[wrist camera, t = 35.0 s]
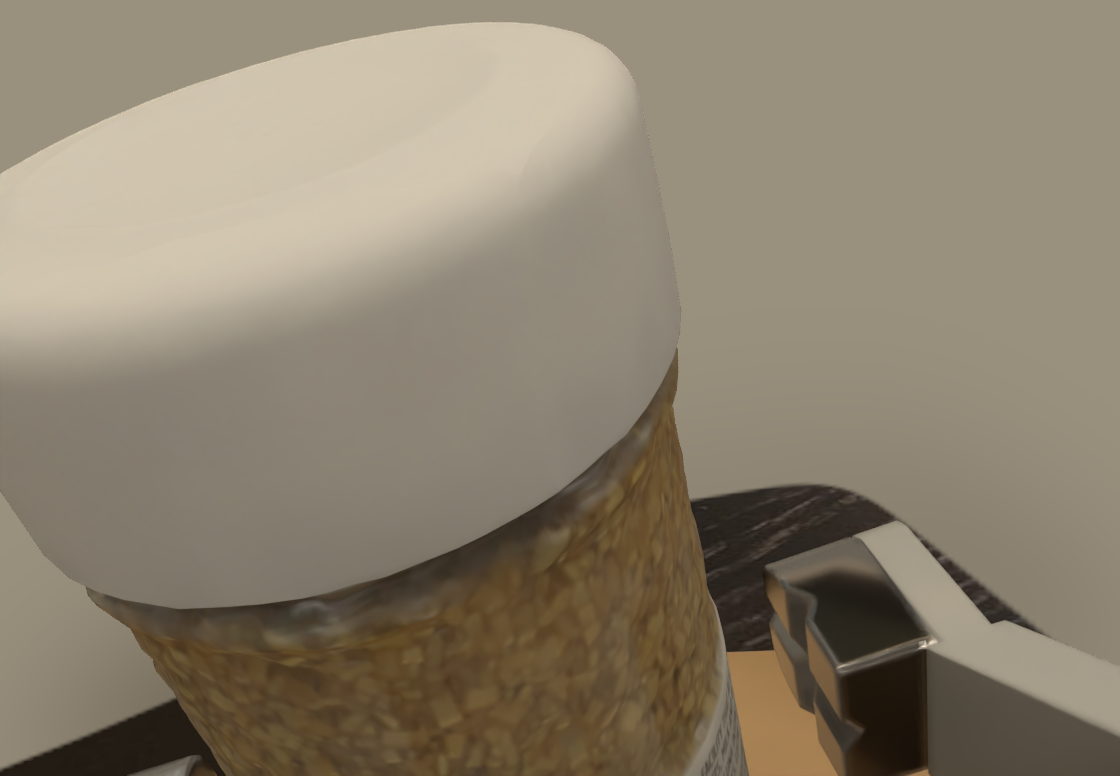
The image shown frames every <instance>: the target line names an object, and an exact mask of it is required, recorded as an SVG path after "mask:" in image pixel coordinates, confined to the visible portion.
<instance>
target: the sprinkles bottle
mask: <svg viewBox="0 0 1120 776" xmlns="http://www.w3.org/2000/svg"><path fill="white" fill-rule="evenodd" d="M680 321H681V307H680V301H679V294H678V287H677V281H676V274H675V268H674V262H673V255H672V248H671V244H670V238H669V233H668V229H667V224H666V218H665V213H664V208H663V203H662V198H661V193H660V188H659V184H658V179H657V175H656V170H655V165H654V161H653V156H652V152H651V147H650V143H649V138H648V134H647V129H646V125H645V120H644V115H643V111H642V107H641V102H640V97H639V93H638V89H637V86H636V85H635V82H634V80H633V78H632V76H631V74H630V72H629V70H628V69H627V68H626V67H625V66H624V64H623V63H622V62H621V61H620V60H619V58H618V57H616V55H614V54H613V53H612V52H611V51H610V50H609V49H608V48H606V47H605V46H604V45H602V44H600V43H598V42H596V41H594V40H592V39H590V38H588V37H586V36H584V35H582V34H580V33H576V32H572V31H569V30H565V29H559V28H555V27H550V26H545V25H539V24H527V23H513V22H477V23H463V24H450V25H441V26H431V27H425V28H418V29H411V30H405V31H399V32H392V33H387V34H381V35H375V36H370V37H365V38H359V39H354V40H349V41H345V42H341V43H336V44H332V45H327V46H323V47H319V48H315V49H310V50H306V51H302V52H298V53H294V54H291V55H287V56H284V57H280V58H277V59H273V60H270V61H266V62H263V63H259V64H256V65H253V66H249V67H246V68H243V69H240V70H237V71H234V72H230V73H227V74H224V75H221V76H218V77H215V78H212V79H209V80H206V81H202V82H199V83H196V84H193V85H190V86H188V87H185V88H182V89H180V90H177V91H174V92H171V93H169V94H166V95H164V96H161V97H158V98H156V99H153V100H151V101H148V102H145V103H143V104H141V105H138V106H136V107H134V108H132V109H129V110H127V111H124V112H122V113H120V114H118V115H115V116H113V117H111V118H108V119H106V120H103V121H101V122H99V123H97V124H95V125H93V126H90V127H88V128H86V129H84V130H81V131H79V132H77V133H75V134H73V135H71V136H69V137H67V138H65V139H63V140H61V141H59V142H57V143H55V144H53V145H51V146H49V147H47V148H45V149H43V150H41V151H39V152H38V153H36V154H34V155H33V156H31V157H29V158H27V159H25V160H24V161H22V162H20V163H18V164H17V165H15V166H13V167H11V168H10V169H8V170H6V171H4V172H2V173H1V174H0V491H1V493H2V494H3V496H4V497H5V499H6V500H7V502H8V503H9V504H10V506H11V507H12V509H13V510H14V512H15V513H16V515H17V516H18V518H19V519H20V520H21V522H22V524H23V525H24V527H25V528H26V529H27V531H28V532H29V534H30V535H31V537H32V538H33V540H34V541H35V543H36V544H37V546H38V547H39V549H40V550H41V551H42V553H43V554H44V556H46V557H47V558H48V559H49V560H50V561H51V562H52V563H53V564H54V565H56V567H58V568H59V569H60V570H61V571H62V572H63V573H64V574H65V575H66V576H68V577H69V578H70V579H72V580H74V581H76V582H78V583H81V584H82V585H84V586H86V589H87V593H88V596H89V597H90V598H91V599H92V601H93V602H94V603H95V604H96V605H97V606H98V607H100V608H101V609H102V610H104V611H106V612H107V613H108V614H110V615H111V616H113V617H114V618H115V619H117V620H119V621H120V622H121V623H123V624H125V625H126V626H127V627H129V628H130V629H131V631H132V632H133V634H134V636H135V638H136V640H137V641H138V643H139V645H140V647H141V649H142V650H143V651H144V652H146V653H147V654H148V655H149V656H150V657H151V658H152V659H153V663H154V667H155V669H156V671H157V672H158V674H159V675H160V676H161V677H162V679H163V680H164V681H165V682H166V684H167V685H168V686H169V687H170V688H171V689H172V690H173V691H174V694H175V696H176V698H177V700H178V702H179V704H180V706H181V708H182V709H183V710H184V711H185V713H186V714H187V716H188V718H189V720H190V721H191V723H192V724H193V726H194V727H195V728H196V730H197V731H198V733H199V734H200V736H201V737H202V739H203V740H204V741H205V742H206V744H207V745H208V746H209V747H210V749H211V751H212V753H213V755H214V757H215V758H216V760H217V762H218V764H219V765H220V767H221V768H222V770H223V771H224V773H225V774H226V776H749V771H748V766H747V761H746V756H745V751H744V746H743V740H742V735H741V729H740V723H739V718H738V712H737V707H736V702H735V696H734V691H733V685H732V680H731V675H730V669H729V664H728V658H727V653H726V647H725V642H724V636H723V632H722V628H721V624H720V620H719V616H718V612H717V608H716V605H715V604H714V602H713V600H712V598H711V596H710V594H709V592H708V588H707V582H706V574H705V567H704V559H703V552H702V548H701V543H700V539H699V535H698V530H697V526H696V522H695V519H694V516H693V514H692V511H691V505H690V500H689V496H688V490H687V482H686V476H685V473H684V465H683V455H682V451H681V447H680V443H679V439H678V434H677V429H676V424H675V418H674V410H673V407H672V404H673V401H674V397H675V394H676V391H677V380H678V349H677V343H678V338H679V334H680Z"/></svg>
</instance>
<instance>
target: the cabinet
mask: <svg viewBox="0 0 1120 776" xmlns="http://www.w3.org/2000/svg"><path fill="white" fill-rule="evenodd" d="M726 653H727V658H728V664H729V669H730V675H731V680H732V685H733V691H734V696H735V702H736V707H737V712H738V718H739V723H740V729H741V735H742V740H743V746H744V751H745V756H746V761H747V766H748V771H749V776H838V775H837V773H836V771H835V770H834V768H833V766H832V764H831V762H830V761H829V759H828V757H827V755H826V754H825V752H824V750H823V748H822V747H821V745H820V743H819V741H818V733H817V725H816V717H815V715H814V714H812V713H810V712H808V711H806V710H804V709H802V708H800V707H799V705H798V703H797V701H796V700H795V698H794V696H793V694H792V692H791V690H790V688H789V686H788V684H787V682H786V680H785V677H784V675H783V673H782V671H781V668H780V665H779V662H778V659H777V655H776V652H775V651H749V652H726ZM908 776H931V775H930V774H928V769H927V770H924V771H921V772H917V773H914V774H911V775H908Z"/></svg>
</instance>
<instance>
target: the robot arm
mask: <svg viewBox="0 0 1120 776" xmlns="http://www.w3.org/2000/svg"><path fill="white" fill-rule="evenodd" d="M763 581H764V588H765V594H766V595H767V597H768V599H769V600H770V602H771V604H772V606H773V607H774V609H775V611H776V612H775V614H774V615H773V617H772V619H771V620H770V622H769V624H770V630H771V635H772V641H773V646H774V649H775V652H776V655H777V659H778V662H779V665H780V668H781V671H782V673H783V675H784V677H785V680H786V682H787V684H788V686H789V688H790V690H791V692H792V694H793V696H794V698H795V700H796V701H797V703H798V705H799V707H800V708H802V709H804V710H806V711H808V712H810V713H812V714H814V715H815V717H816V725H817V733H818V741H819V743H820V745H821V747H822V748H823V750H824V752H825V754H826V755H827V757H828V759H829V761H830V762H831V764H832V766H833V768H834V770H835V771H836V773H837V775H838V776H908V775H911V774H914V773H917V772H921V771H924V770H927V769H928V774H930V775H931V776H1120V666H1119V665H1117V664H1114V663H1112V662H1109V661H1106V660H1104V659H1102V658H1099V657H1096V656H1094V655H1091V654H1089V653H1086V652H1084V651H1081V650H1079V649H1076V648H1074V647H1071V646H1069V645H1066V644H1064V643H1061V642H1059V641H1056V640H1054V639H1051V638H1049V637H1046V636H1044V635H1041V634H1039V633H1036V632H1034V631H1031V630H1029V629H1026V628H1024V627H1021V626H1019V625H1016V624H1014V623H1011V622H1009V621H1006V620H1004V621H1001V622H997V623H994V624H991V623H990V622H989V621H988V620H987V619H986V617H985V616H984V615H983V614H982V613H981V612H980V610H979V609H978V608H977V607H976V606H975V605H974V603H973V602H972V601H971V600H970V599H969V598H968V596H967V595H966V594H965V593H964V592H963V591H962V590H961V588H960V587H959V586H958V585H957V584H956V583H955V581H954V580H953V579H952V578H951V577H950V576H949V574H948V573H947V572H946V571H945V570H944V569H943V567H942V566H941V565H940V564H939V563H938V562H937V560H936V559H935V558H934V557H933V556H932V555H931V553H930V552H929V551H928V550H927V549H926V548H925V546H924V545H923V544H922V543H921V542H920V541H919V539H918V538H917V537H916V536H915V535H914V534H913V532H912V531H911V530H910V529H909V528H908V527H907V525H905V524H903V523H901V522H899V521H894V522H892V523H889V524H886V525H883V526H880V527H877V528H874V529H871V530H868V531H865V532H862V533H859V534H856V535H853V537H852V538H851V537H847V538H844V539H841V540H838V541H835V542H832V543H829V544H827V545H824V546H821V547H818V548H815V549H812V550H809V551H806V552H803V553H800V554H797V555H794V556H791V557H788V558H786V559H783V560H780V561H777V562H774V563H771V564H768V565H765V566H764V571H763ZM126 776H217V775H216V773H215V772H214V770H213V769H212V768H211V766H210V765H209V764H208V762H207V761H206V759H205V758H204V757H203V755H192V756H189V757H185V758H182V759H179V760H175V761H172V762H169V763H166V764H162V765H159V766H156V767H152V768H149V769H146V770H142V771H139V772H136V773H133V774H129V775H126Z"/></svg>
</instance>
